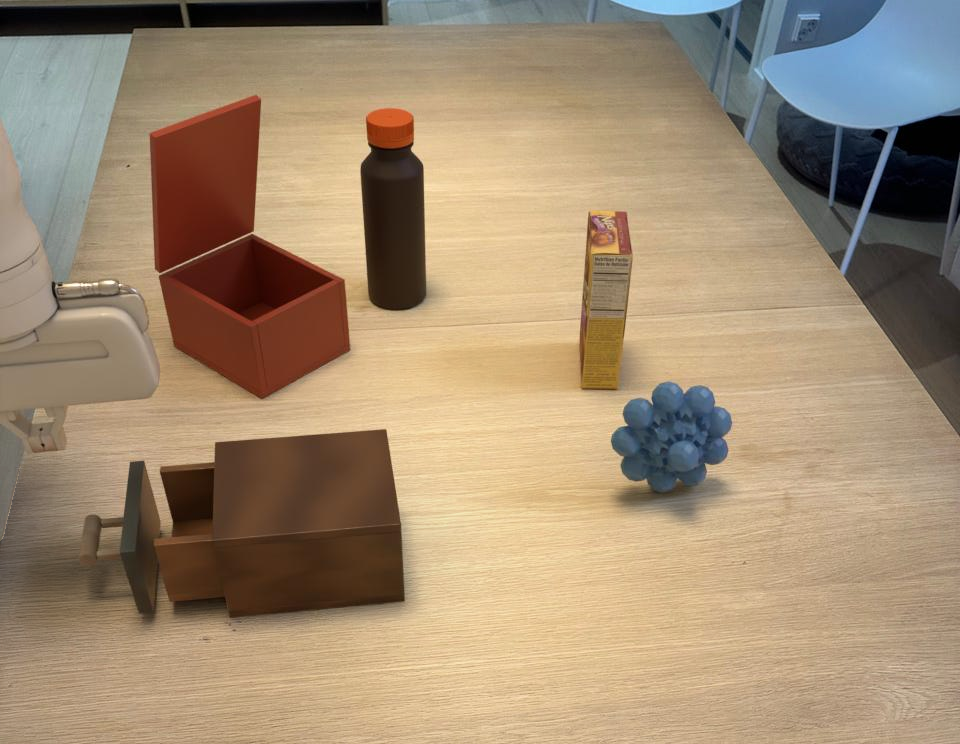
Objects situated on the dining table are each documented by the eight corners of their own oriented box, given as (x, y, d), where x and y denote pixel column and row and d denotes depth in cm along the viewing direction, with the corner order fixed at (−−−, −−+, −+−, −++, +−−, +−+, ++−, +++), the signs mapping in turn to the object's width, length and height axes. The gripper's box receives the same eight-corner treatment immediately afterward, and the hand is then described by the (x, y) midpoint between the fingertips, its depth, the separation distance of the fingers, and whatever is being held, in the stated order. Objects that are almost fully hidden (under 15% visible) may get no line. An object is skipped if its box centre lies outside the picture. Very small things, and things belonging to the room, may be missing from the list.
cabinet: (229, 617, 88) (212, 540, 81) (230, 518, 96) (214, 441, 90) (405, 601, 89) (401, 524, 83) (390, 505, 98) (386, 428, 91)
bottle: (372, 313, 120) (361, 132, 106) (364, 283, 125) (352, 106, 110) (431, 307, 121) (428, 128, 107) (421, 278, 126) (416, 102, 111)
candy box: (575, 343, 117) (588, 208, 106) (614, 344, 117) (631, 209, 106) (577, 389, 111) (591, 251, 100) (618, 391, 111) (636, 253, 100)
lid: (261, 98, 102) (256, 94, 102) (155, 137, 96) (149, 132, 96) (254, 231, 115) (249, 227, 115) (159, 273, 109) (154, 269, 109)
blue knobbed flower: (618, 528, 96) (635, 419, 87) (595, 482, 100) (609, 373, 92) (737, 510, 98) (765, 401, 89) (710, 466, 102) (734, 358, 94)
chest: (350, 349, 115) (344, 279, 109) (262, 399, 109) (250, 327, 103) (262, 302, 122) (252, 233, 116) (173, 346, 115) (158, 275, 109)
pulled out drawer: (85, 618, 86) (63, 557, 81) (98, 526, 94) (78, 465, 89) (304, 598, 88) (295, 537, 83) (299, 509, 96) (291, 448, 91)
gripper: (141, 256, 78) (180, 413, 88) (-150, 278, 76) (-75, 436, 86) (135, 299, 74) (177, 459, 84) (-173, 323, 72) (-92, 484, 82)
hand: (47, 447), depth 85 cm, fingers closed
